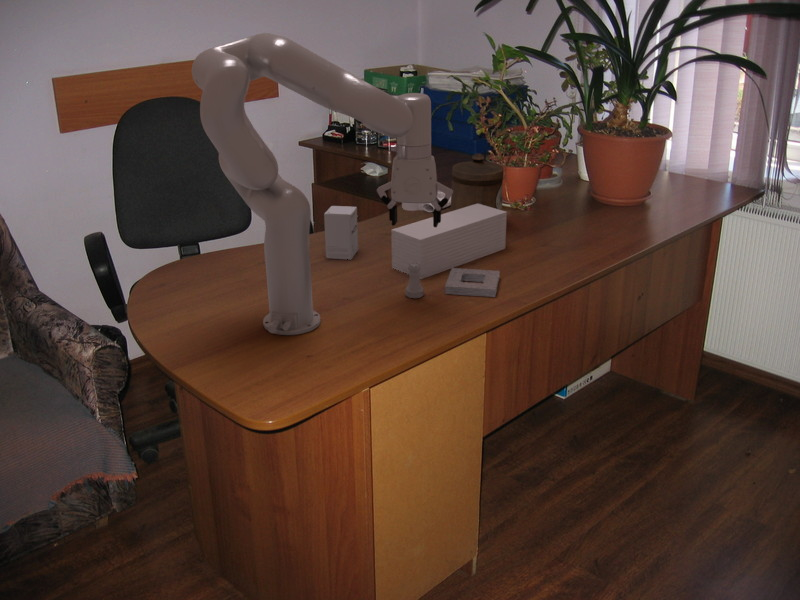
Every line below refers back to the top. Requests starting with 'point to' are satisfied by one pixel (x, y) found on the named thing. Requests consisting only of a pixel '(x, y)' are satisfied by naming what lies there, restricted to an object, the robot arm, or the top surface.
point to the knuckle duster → (423, 206)
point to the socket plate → (472, 289)
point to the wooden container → (477, 184)
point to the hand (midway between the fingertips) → (415, 224)
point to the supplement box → (341, 232)
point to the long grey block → (449, 239)
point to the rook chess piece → (414, 282)
